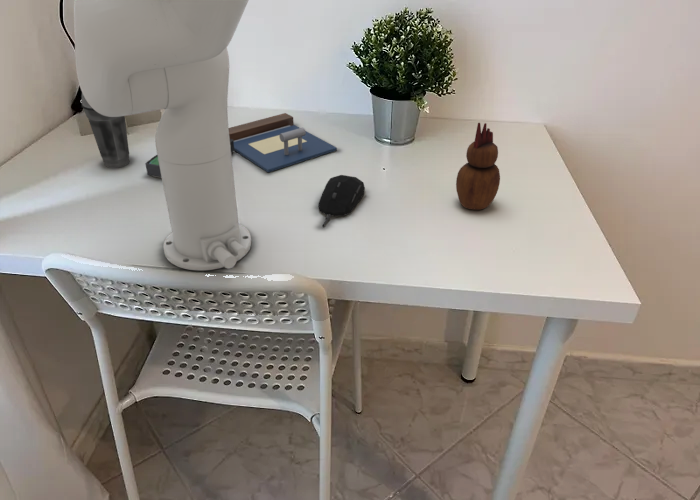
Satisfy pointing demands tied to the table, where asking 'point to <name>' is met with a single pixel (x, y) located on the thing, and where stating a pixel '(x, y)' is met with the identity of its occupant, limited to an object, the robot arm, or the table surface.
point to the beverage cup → (109, 136)
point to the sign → (281, 147)
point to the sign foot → (260, 126)
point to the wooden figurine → (479, 172)
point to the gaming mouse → (340, 196)
